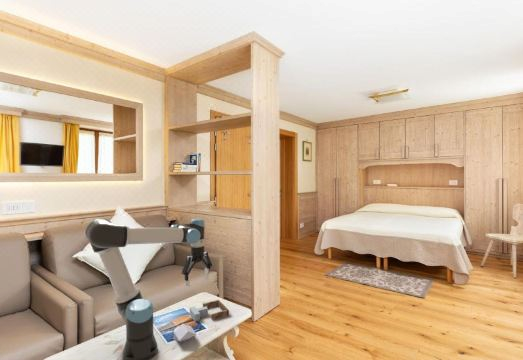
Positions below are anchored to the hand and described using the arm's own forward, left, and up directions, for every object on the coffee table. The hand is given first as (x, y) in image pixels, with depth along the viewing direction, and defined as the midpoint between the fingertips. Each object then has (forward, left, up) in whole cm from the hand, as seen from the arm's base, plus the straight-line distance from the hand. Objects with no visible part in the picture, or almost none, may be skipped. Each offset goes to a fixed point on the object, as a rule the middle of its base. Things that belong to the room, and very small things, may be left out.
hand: (197, 282), depth 165 cm
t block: (+2, +2, -21) cm, 21 cm away
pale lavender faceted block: (-12, -16, -21) cm, 29 cm away
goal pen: (+12, +2, -21) cm, 24 cm away
